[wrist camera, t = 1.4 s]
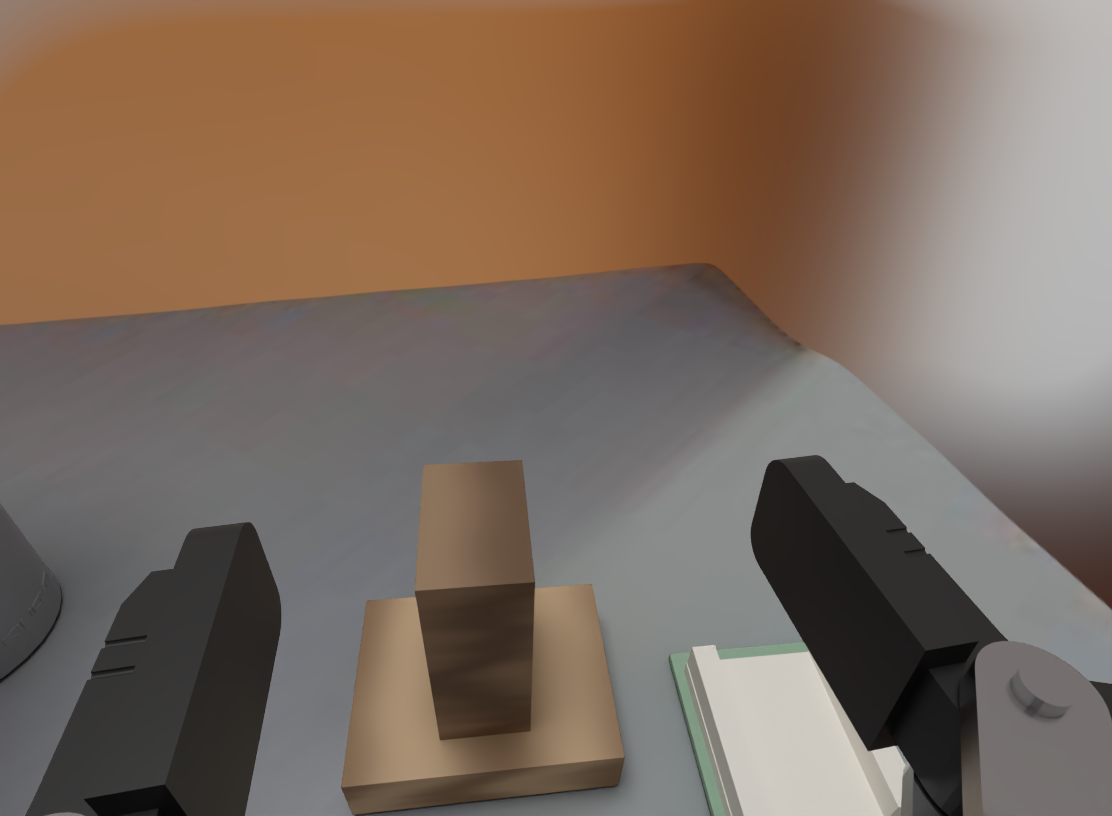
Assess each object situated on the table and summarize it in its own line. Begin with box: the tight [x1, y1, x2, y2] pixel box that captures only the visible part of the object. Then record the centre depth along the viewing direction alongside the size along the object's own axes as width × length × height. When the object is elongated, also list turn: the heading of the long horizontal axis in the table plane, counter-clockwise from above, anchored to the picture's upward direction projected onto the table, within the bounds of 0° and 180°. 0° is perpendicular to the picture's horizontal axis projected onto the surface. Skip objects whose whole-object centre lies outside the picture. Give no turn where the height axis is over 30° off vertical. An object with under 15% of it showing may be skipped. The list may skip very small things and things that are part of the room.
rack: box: [684, 645, 905, 816], centre depth 30 cm, size 8×8×2 cm
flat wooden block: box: [341, 584, 625, 815], centre depth 31 cm, size 12×9×3 cm
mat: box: [669, 642, 809, 816], centre depth 31 cm, size 9×10×1 cm
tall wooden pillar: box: [415, 460, 535, 740], centre depth 27 cm, size 4×6×11 cm, turn 7°
